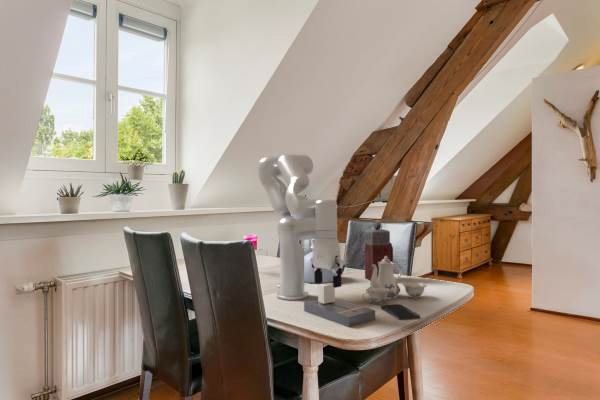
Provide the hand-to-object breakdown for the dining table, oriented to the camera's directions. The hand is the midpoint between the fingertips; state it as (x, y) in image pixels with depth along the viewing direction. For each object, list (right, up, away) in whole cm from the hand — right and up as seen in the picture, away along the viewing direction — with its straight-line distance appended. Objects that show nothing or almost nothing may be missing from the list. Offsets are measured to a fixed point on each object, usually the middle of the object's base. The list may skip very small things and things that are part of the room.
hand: (327, 285), depth 142 cm
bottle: (0, -9, +54) cm, 54 cm away
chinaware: (+26, -9, +18) cm, 33 cm away
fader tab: (0, -6, +1) cm, 6 cm away
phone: (+24, -10, -2) cm, 26 cm away
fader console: (+3, -9, -4) cm, 11 cm away
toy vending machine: (+28, -8, +53) cm, 60 cm away
